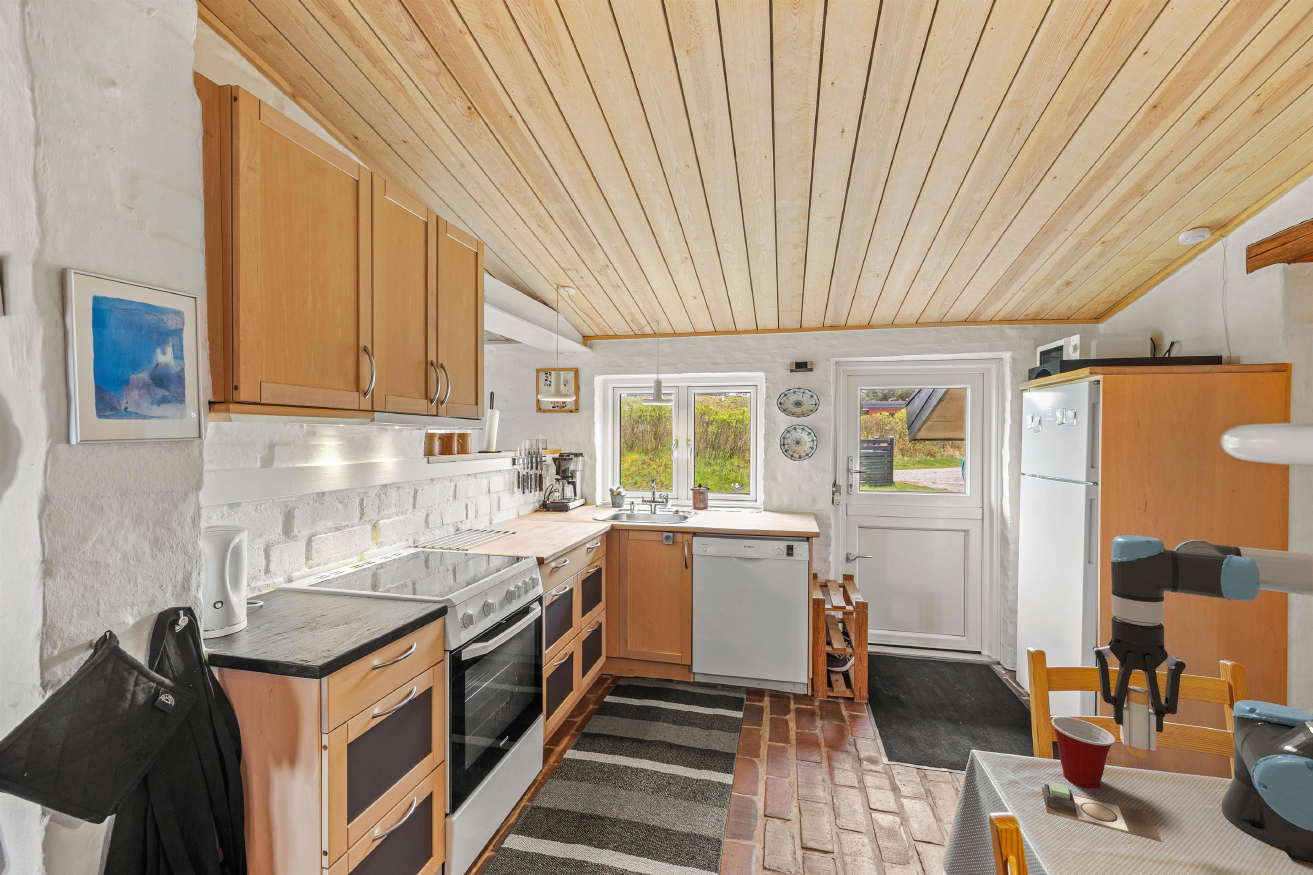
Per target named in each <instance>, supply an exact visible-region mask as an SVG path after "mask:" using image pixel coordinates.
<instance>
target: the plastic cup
mask: <svg viewBox="0 0 1313 875" xmlns="http://www.w3.org/2000/svg"><path fill="white" fill-rule="evenodd" d="M1050 723H1051V724H1052V726H1053V729H1054V733H1055V738H1056V742H1057V749H1058V754H1059V759H1060V760H1059V761H1060V763H1061V764H1060V765H1061V767H1062V773H1063V776H1064V778H1065V779H1066V780H1067V781H1068V782H1069V783H1071V784H1073V785H1076V786H1078V787H1081V788H1084V789H1088V790H1089V789H1091V790H1093V789H1096V790H1097V789H1099V788H1100V786H1101V782H1102V777H1103V775H1104V770H1105V766H1106V762H1107V758H1108V754H1109V751H1110V749H1111V746H1112V745H1114V743H1115V741H1116V737H1115V736H1114V735H1113V734H1112V733H1111V732H1110V731H1107V730H1106V729H1105V728H1103V727H1100V726H1098V725H1097V724H1094V723H1092V722H1088V721H1086V720H1082V719H1080V718H1075V717H1070V716H1054V717H1053V718H1052V719H1051V720H1050Z"/></svg>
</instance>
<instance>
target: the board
mask: <svg viewBox="0 0 1313 875" xmlns="http://www.w3.org/2000/svg"><path fill="white" fill-rule="evenodd" d="M1043 786H1044V787H1042V786H1041V791H1042V796H1043V800H1044V805H1045V809H1046V813H1047V814H1050V815H1055V816H1059V817H1062V818H1067V819H1070V820H1073V821H1074V820H1075V821H1078V822H1082V823H1087V824H1090V825H1093V826H1098V827H1103V828H1105V829H1110V830H1113V831H1118V832H1121V833H1125V834H1130V835H1132V836H1136V837H1141V838H1145V839H1149V840H1152V841H1157V842H1161V843H1163V841H1162V838H1161V837H1160V835H1159V833H1158V831H1157V828H1156V826H1155V824H1154V822H1153V820H1152V818H1151V816H1150V814H1149V811H1144V810H1139V809H1135V808H1133V807H1128V806H1123V805H1119V804H1114V803H1112V802H1111V803H1110V802H1105V801H1103V800H1099V799H1093V798H1090V797H1085V796H1081V795H1077V794H1073V792H1072V789H1069V788H1068V790H1069V793H1070V800H1067V799H1063V798H1059V797H1054V796H1050V793H1049V783H1044V785H1043Z"/></svg>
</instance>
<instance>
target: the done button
mask: <svg viewBox="0 0 1313 875" xmlns="http://www.w3.org/2000/svg"><path fill="white" fill-rule="evenodd" d="M1048 785H1049V793H1050V796H1054V797H1059V798H1063V799H1067V800H1070V793H1069V790H1070V789H1069V787H1068V785H1065V784H1060V783H1058V782H1057V783H1056V782H1051V781H1048ZM1068 789H1069V790H1068Z"/></svg>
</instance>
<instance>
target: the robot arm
mask: <svg viewBox="0 0 1313 875" xmlns="http://www.w3.org/2000/svg"><path fill="white" fill-rule="evenodd" d="M1110 554H1111V557H1110V568H1111V569H1110V571H1111V573H1110V574H1111V577H1110V578H1111V614H1112V615H1113V616H1112V617H1111V639H1110V641H1109V642H1108V644H1107V645H1105V646H1101V647H1098V646H1094V647H1092V651H1093V653H1094V655H1095V657H1096V659H1097V666H1098V678H1099V687H1100V696H1101V697H1102V700H1103V701H1104V703H1105V704H1110V705H1112V706H1113V707H1112V708H1113V709H1112V710H1113V712H1112V713H1113V716H1112V718H1113V720H1114V722H1115V724H1116V725H1119V727H1120V730H1119V732H1120V736H1119V737H1120V740H1121V742H1122V744H1123V746H1126V747H1127V746H1129V711H1128V709H1127V705H1125V703H1126V700H1127V699H1126V694H1127V689H1128V686H1129V685H1130V679H1131V676H1132V674H1133V671H1141V672H1143V674H1144V678H1145V682H1146V687H1147V690H1148V691H1149V703H1150V705H1151V709H1150V708H1149V748H1150V751H1152V752H1156V751H1157V733H1163V732H1164V718H1165V717H1166V715H1170V714H1171V715H1174V716H1175V715H1176V714H1177V712H1178V703H1179V693H1180V682H1181V675H1182V673H1183V672H1184V670H1186V667H1187V665H1186V663H1185V661H1183V660H1182V659H1181V658H1180V657H1174V656H1172V655H1170V654H1168V652H1167V650H1166V648H1165V626H1164V625H1163V624H1162V623H1163V622H1165V596H1164V595H1165V592H1168V593H1169V592H1170V593H1175V594H1176V593H1177V594H1178V593H1179V594H1184V595H1185V594H1186V595H1192V596H1193V595H1194V596H1199V597H1200V596H1202V597H1208V598H1215V599H1222V600H1223V599H1224V600H1227V601H1248V602H1252V601H1255V600H1256V599H1257V598H1258V597H1259V595H1260V590H1262V591H1263V590H1264V591H1271V592H1278V593H1285V594H1286V593H1287V594H1295V595H1302V596H1311V597H1313V553H1309V552H1308V553H1307V552H1300V551H1299V552H1298V551H1287V550H1279V549H1278V550H1276V549H1265V548H1256V547H1246V546H1232V545H1224V544H1214V543H1212V542H1211V543H1210V542H1208V541H1204V540H1196V539H1192V540H1186V541H1183V542H1181V543H1179V544H1178V545H1176V546H1175V548H1174V549H1173V550H1170V549H1166V547H1165V544H1164V541H1163V540H1162V539H1160V538H1157V537H1153V536H1152V537H1151V536H1143V535H1133V534H1132V535H1131V534H1129V535H1127V534H1125V535H1124V534H1123V535H1117V536H1115V537H1114V538H1113V539H1112V541H1111V553H1110ZM1111 653H1112V654H1113V656H1114V657H1115V658H1116V660H1118V662H1119V664H1118V673H1117V677H1116V682H1115V687H1114V692H1113V695H1112V691H1111V688H1112V687H1111V680H1110V671H1109V670H1110V669H1109V663H1108V661H1107V660H1109V659H1110V658H1111V656H1110V655H1111ZM1164 662H1165V665H1166V666H1167V672H1166V681H1165V682H1166V683H1165V692H1164V702H1162V697H1161V693H1160V687H1159V683H1158V675H1157V670H1156V669H1158V667H1160V666H1161V664H1164ZM1231 716H1232V718H1233V779H1232V781H1231V782H1230V784H1229V787H1228V789H1227V791H1226V793H1225V794H1224V796H1223V798H1222V801H1221V812H1222V813H1221V814H1222V815H1223V816H1224V818H1225V819H1226V820H1227V821H1228V822H1229V823H1230V824H1231V825H1233V826H1234V827H1235V828H1237V829H1238V830H1240V831H1241V832H1243V833H1245V834H1246V835H1249V836H1250V837H1252V838H1253V839H1256V840H1257V841H1260V842H1262V843H1265V844H1267V845H1270V846H1272V847H1274V848H1276V849H1280V850H1283V851H1284V852H1285V854H1287V855H1288V857H1291V858H1295V859H1299V860H1303V861H1307V862H1311V863H1313V713H1310V712H1308V711H1304V710H1301V709H1299V708H1298V709H1297V708H1294V707H1291V706H1287V705H1283V704H1277V703H1273V702H1272V703H1271V702H1266V701H1260V700H1251V699H1250V700H1248V699H1243V700H1238V701H1236V702H1235V703H1234V705H1233V712H1232V713H1231Z"/></svg>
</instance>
